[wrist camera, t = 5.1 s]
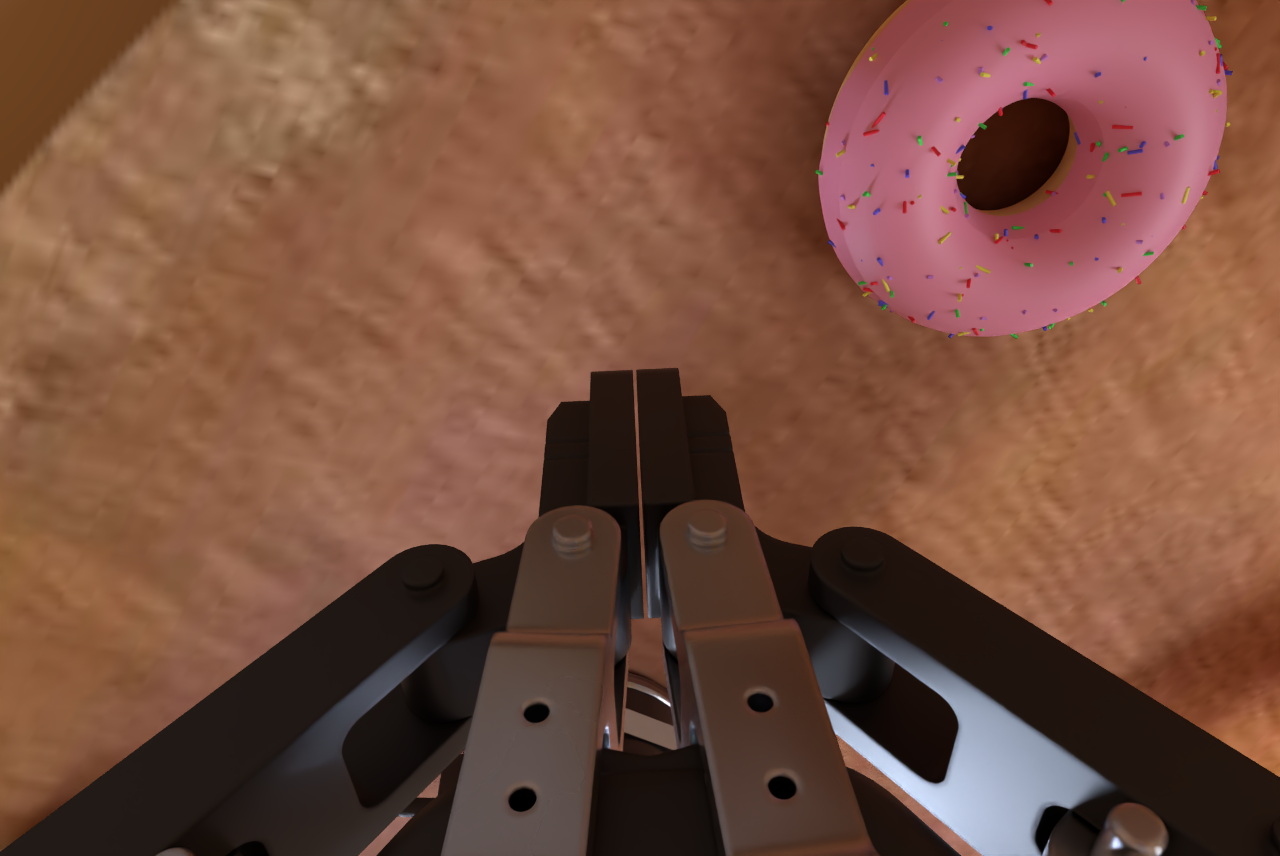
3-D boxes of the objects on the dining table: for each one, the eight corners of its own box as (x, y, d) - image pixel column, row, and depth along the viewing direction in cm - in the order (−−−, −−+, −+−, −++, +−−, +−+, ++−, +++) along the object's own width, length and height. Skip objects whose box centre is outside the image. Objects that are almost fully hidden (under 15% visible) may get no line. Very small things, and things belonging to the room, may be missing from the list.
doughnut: (907, -136, 23) (961, -123, 19) (1262, 1, 25) (1367, 34, 22) (751, 251, 29) (772, 313, 25) (1050, 334, 31) (1106, 401, 28)
